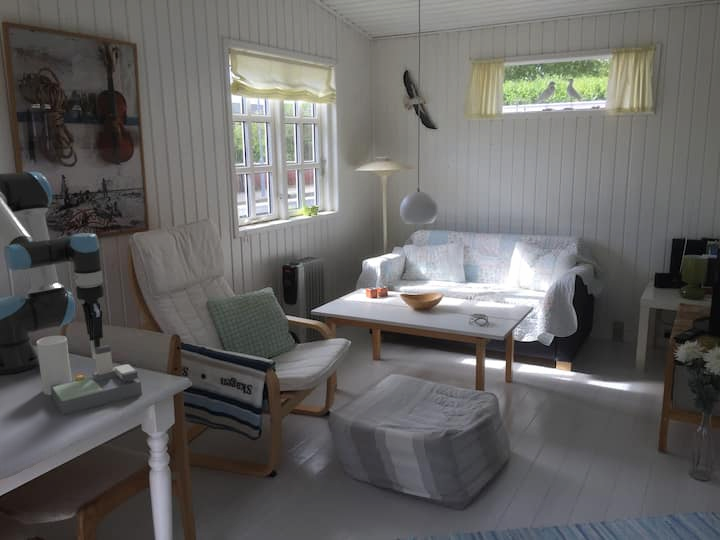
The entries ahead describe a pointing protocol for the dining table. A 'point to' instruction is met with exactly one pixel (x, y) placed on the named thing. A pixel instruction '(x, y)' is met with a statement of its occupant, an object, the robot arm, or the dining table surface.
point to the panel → (96, 389)
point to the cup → (53, 361)
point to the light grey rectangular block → (103, 359)
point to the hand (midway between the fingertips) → (97, 358)
